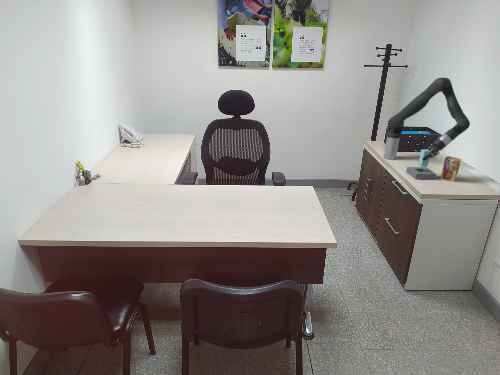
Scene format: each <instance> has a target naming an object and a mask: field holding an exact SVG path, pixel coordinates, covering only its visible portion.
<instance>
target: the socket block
mask: <svg viewBox="0 0 500 375" xmlns="http://www.w3.org/2000/svg"><path fill="white" fill-rule="evenodd" d="M405 173H406V174H408V175H409V176H410V177H411V178H413V179H414V180H436V177H437V173H436V172H434V171H433V170H431V169H430V168H428V166H427V167H421V166H407V167H406V170H405Z"/></svg>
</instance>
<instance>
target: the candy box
mask: <svg viewBox="0 0 500 375" xmlns="http://www.w3.org/2000/svg"><path fill="white" fill-rule="evenodd" d="M461 163H462V159H461V158H458V157H455V156H454V157H453V156H449V155H447V156H445V159H444V163H443V166H442V167H443V168H442V171H441V174H440V179H445V180H447V181H451V182H455V181H456V180H457V178H458V173H459V170H460V166H461Z"/></svg>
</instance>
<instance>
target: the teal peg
mask: <svg viewBox="0 0 500 375" xmlns="http://www.w3.org/2000/svg"><path fill="white" fill-rule="evenodd" d="M429 152H430V151H429V150H427V149H425V148H423V149H421V150H420V154H419V156H420V158H419V157H418V158H419V159H418V163H417V165H418V167H427V168H428V165H429V161H430V158H428V159H427V160H425V161H423V159H422V158H424V157H425V156H426V155H427V154H429Z"/></svg>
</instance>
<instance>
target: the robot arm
mask: <svg viewBox="0 0 500 375" xmlns="http://www.w3.org/2000/svg"><path fill="white" fill-rule="evenodd" d="M440 92H441V93H442V94H443V96H444V98H445V100H446V106H447V110H448V112H449V113H450V116H451V118H452V119H453V120H454V121H455V123H456V124H455V125H454V126H453V127H452V128H450V129H448V130H447V131H446V132H445V133H443V134H442V135H440V136H439V137H437V139H435V140H434V141H433V142H432V145H426V146H425V147H424V149H427V150H429V151H430V152H429V154H427V155H426V156H425V157H424V158H422V159H423V161H425V160H427V159H428V158H429V159H430V158H431V159H432V158H434V157H436V156H438V155H440V151H442V150H444V149H445V148H446V147H448V146H449V145H450V144H451V143H452V142H453V141H454V140H455V139H456V138H458V137H459V136H460V135H461V134H463V133H464V132H466V131H467V130H468V129H469V128H470V127H471V122H470V120H469V118H468V116H466V114H465V113H464V111H463V109H462V107H461V105H460V103H459V101H458V99H457V97H456V93H455V91H454V88H453V85H452V81H451V80H450V78H448V77H438V78H436V79H435V80H433V81H432V83H431V84H429V86H428V87H427V88H426V89H425V90H423V91H422V92H421V93H419V94H418V95H417V96H416V97H415V98H414V99H412V100H411V101H409V103H408V104H407V105H406V106H404V107H403V108H402V109H401V110H400V111H399V112H397V113H396V114H395V115H393V116H392V117H390V118H389V120H388V121H387V127H388V128H389V129H390V130H389V131H388V133H387V137H386V143H385V148H384V153H383V158H384V159H385V160H392V161H393V160H396V159H397V154H398V149H399V145H400V140H401V139H400V138H401V136H402V133H403V130H404V125H405V121H406V120H407V119H409V118H410V117H412V116H414V115H416V114H418V113H419V112H421V111H422V110H423V109H424V108H425V107H426V106H427V105H428V103H429V102H430V100H432V98H434V97H435V95H437V94H439V93H440ZM418 158H420V155H419V156H418Z"/></svg>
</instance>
